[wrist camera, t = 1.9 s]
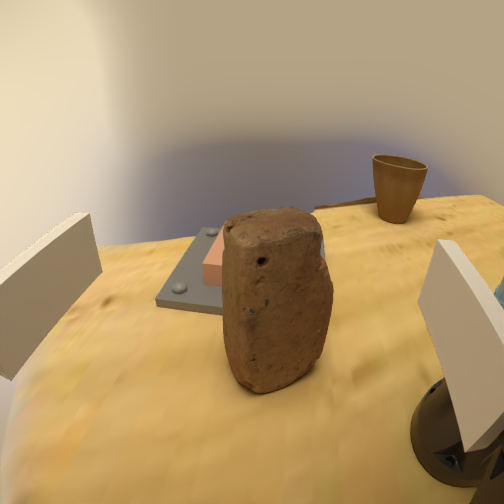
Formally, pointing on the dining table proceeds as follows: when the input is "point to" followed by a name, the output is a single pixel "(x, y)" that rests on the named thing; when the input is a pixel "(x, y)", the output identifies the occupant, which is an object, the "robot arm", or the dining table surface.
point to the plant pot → (397, 185)
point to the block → (274, 296)
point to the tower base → (199, 276)
